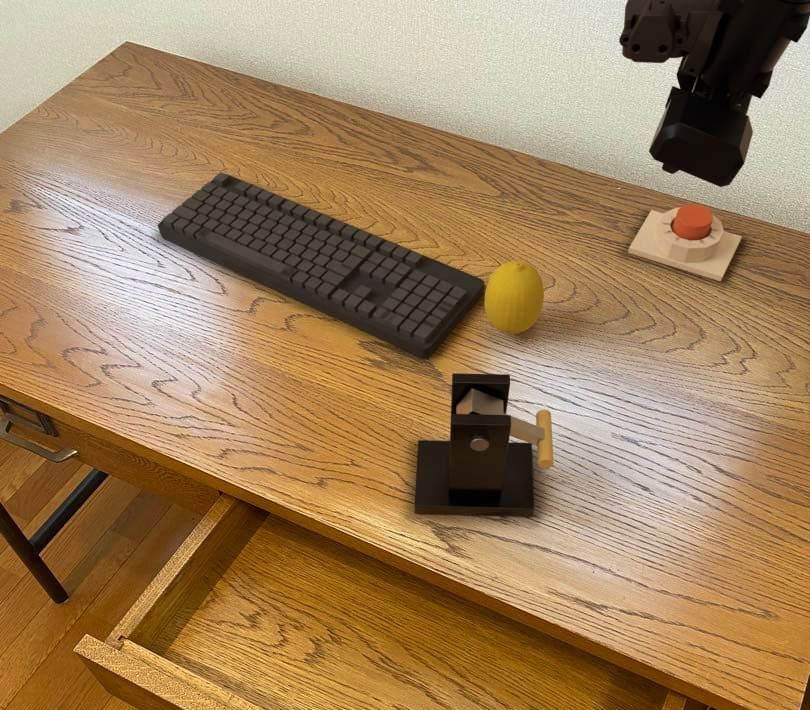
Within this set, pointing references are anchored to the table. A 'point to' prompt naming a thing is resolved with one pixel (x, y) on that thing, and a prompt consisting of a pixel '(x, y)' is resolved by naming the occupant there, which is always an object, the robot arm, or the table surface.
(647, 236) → the beige button base
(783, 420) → the table surface
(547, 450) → the lever
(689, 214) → the button
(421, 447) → the black upright frame
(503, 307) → the lemon
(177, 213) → the keyboard
